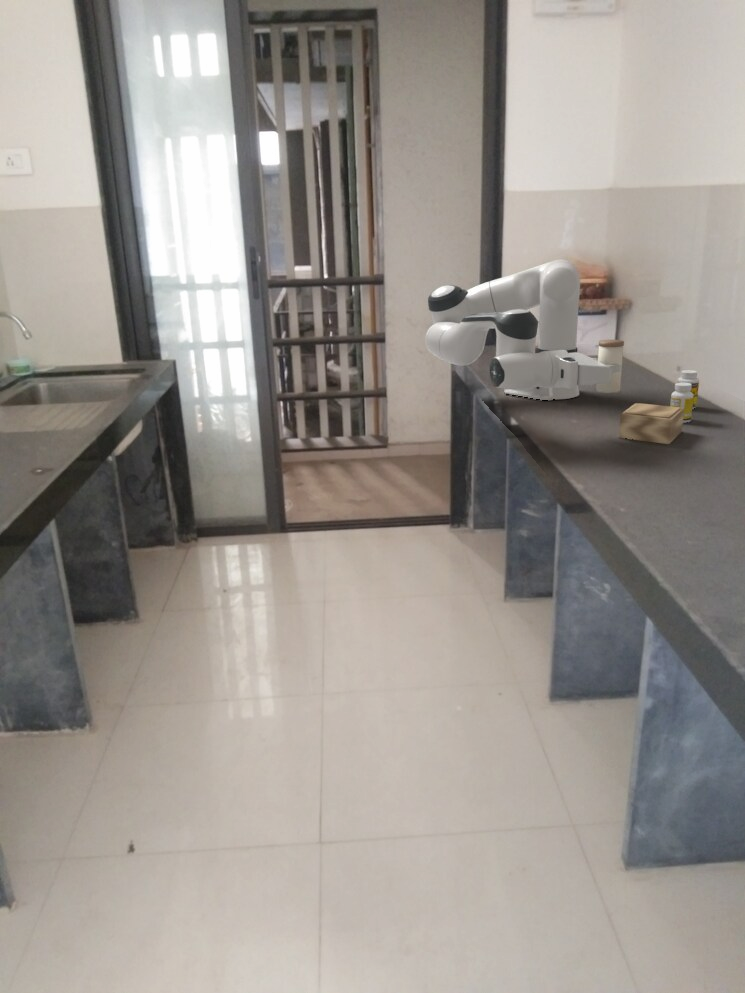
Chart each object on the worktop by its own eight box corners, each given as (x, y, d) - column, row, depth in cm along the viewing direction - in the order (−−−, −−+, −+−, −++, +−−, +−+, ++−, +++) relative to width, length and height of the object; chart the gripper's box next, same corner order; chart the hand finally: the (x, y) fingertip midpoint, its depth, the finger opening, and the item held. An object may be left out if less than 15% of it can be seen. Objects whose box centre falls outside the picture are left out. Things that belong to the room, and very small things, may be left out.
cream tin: (592, 391, 189) (595, 342, 185) (600, 386, 193) (603, 338, 189) (615, 393, 186) (619, 344, 182) (623, 388, 190) (627, 340, 186)
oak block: (618, 437, 191) (620, 412, 189) (633, 425, 200) (635, 402, 198) (668, 444, 184) (671, 418, 182) (681, 431, 194) (684, 407, 191)
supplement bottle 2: (690, 418, 204) (694, 382, 201) (691, 424, 200) (695, 386, 196) (668, 417, 206) (672, 381, 203) (668, 423, 201) (672, 385, 198)
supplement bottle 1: (687, 411, 211) (691, 374, 207) (670, 407, 215) (674, 371, 212) (700, 408, 214) (704, 371, 210) (683, 404, 218) (686, 368, 215)
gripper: (543, 373, 197) (595, 369, 198) (572, 390, 178) (630, 386, 179) (544, 348, 195) (597, 345, 196) (574, 363, 176) (632, 359, 177)
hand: (613, 365), depth 187 cm, fingers closed on cream tin, 6 cm apart
